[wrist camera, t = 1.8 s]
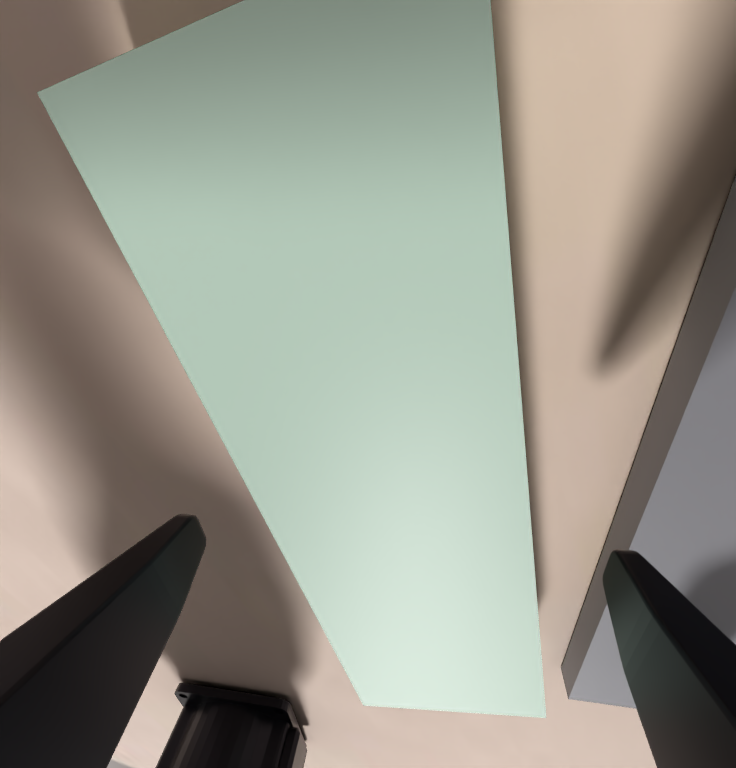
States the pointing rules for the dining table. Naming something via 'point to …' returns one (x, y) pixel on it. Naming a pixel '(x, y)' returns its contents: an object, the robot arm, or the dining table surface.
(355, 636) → the plank
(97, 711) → the robot arm
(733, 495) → the peg stand
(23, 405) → the dining table surface
